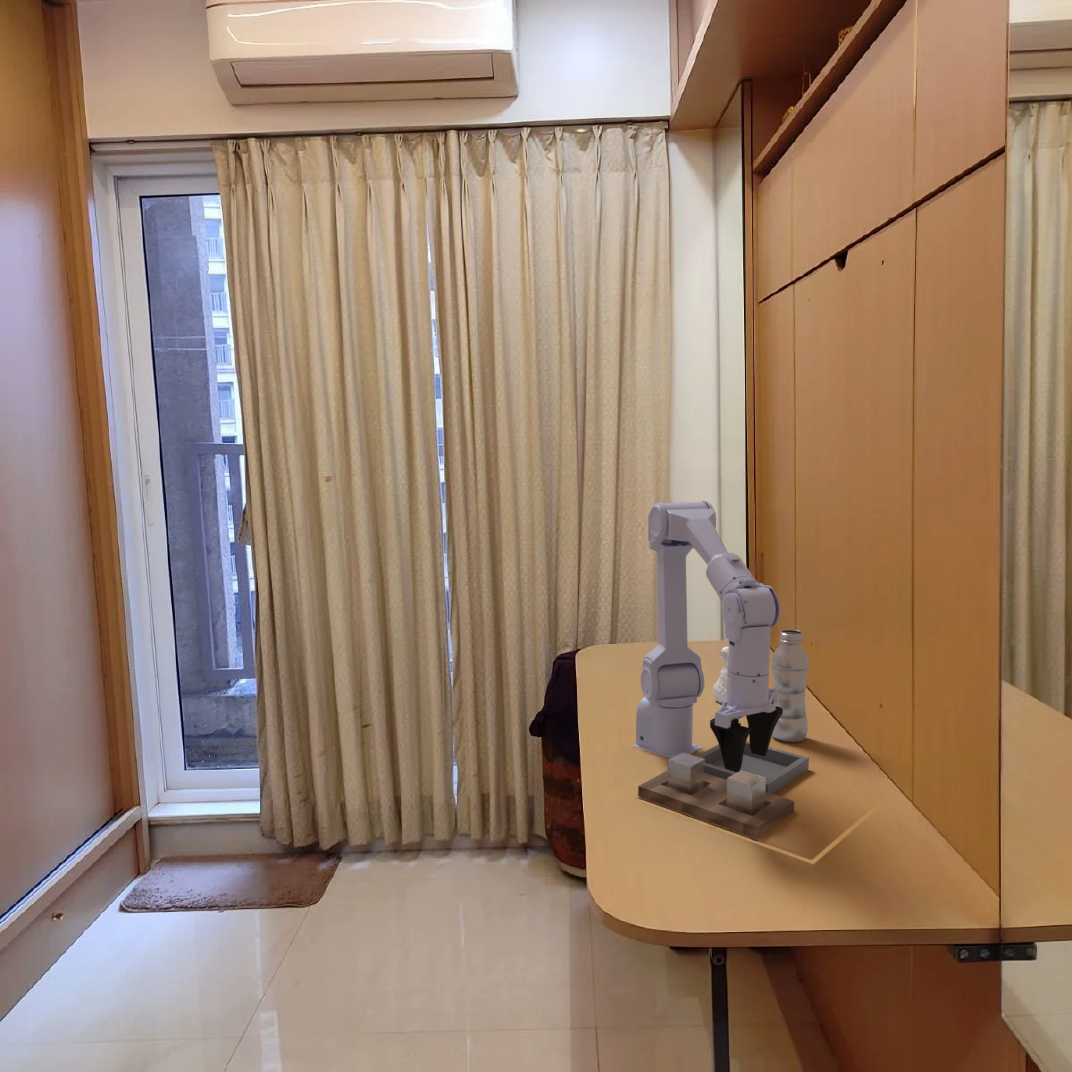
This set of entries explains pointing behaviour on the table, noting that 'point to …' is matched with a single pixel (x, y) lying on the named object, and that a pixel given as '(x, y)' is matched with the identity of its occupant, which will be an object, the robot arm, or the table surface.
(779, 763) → the tray
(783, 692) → the plastic bottle
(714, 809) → the wooden board with recesses
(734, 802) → the block
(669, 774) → the block
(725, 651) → the sitting furry creature
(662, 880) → the table surface
